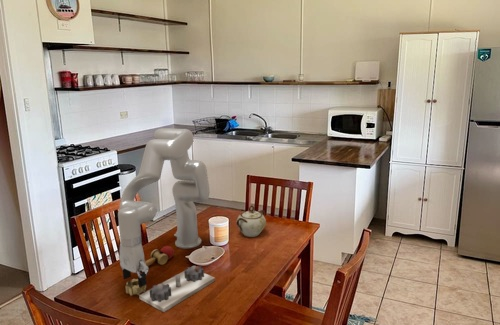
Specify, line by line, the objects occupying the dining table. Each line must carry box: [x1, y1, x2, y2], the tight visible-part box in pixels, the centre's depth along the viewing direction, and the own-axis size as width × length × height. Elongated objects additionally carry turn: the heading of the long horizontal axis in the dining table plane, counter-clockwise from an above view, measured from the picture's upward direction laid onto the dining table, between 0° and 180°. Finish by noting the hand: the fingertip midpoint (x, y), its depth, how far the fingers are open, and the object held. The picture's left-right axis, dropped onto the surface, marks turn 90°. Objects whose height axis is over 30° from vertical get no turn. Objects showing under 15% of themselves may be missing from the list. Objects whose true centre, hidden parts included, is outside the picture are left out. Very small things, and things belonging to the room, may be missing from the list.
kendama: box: [139, 245, 174, 272], centre depth 174 cm, size 8×6×18 cm
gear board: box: [138, 265, 216, 313], centre depth 152 cm, size 14×26×6 cm, turn 141°
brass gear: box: [125, 278, 147, 296], centre depth 153 cm, size 7×7×3 cm
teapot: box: [236, 205, 267, 238], centre depth 201 cm, size 20×15×15 cm
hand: (134, 281), depth 152 cm, fingers open, 9 cm apart
